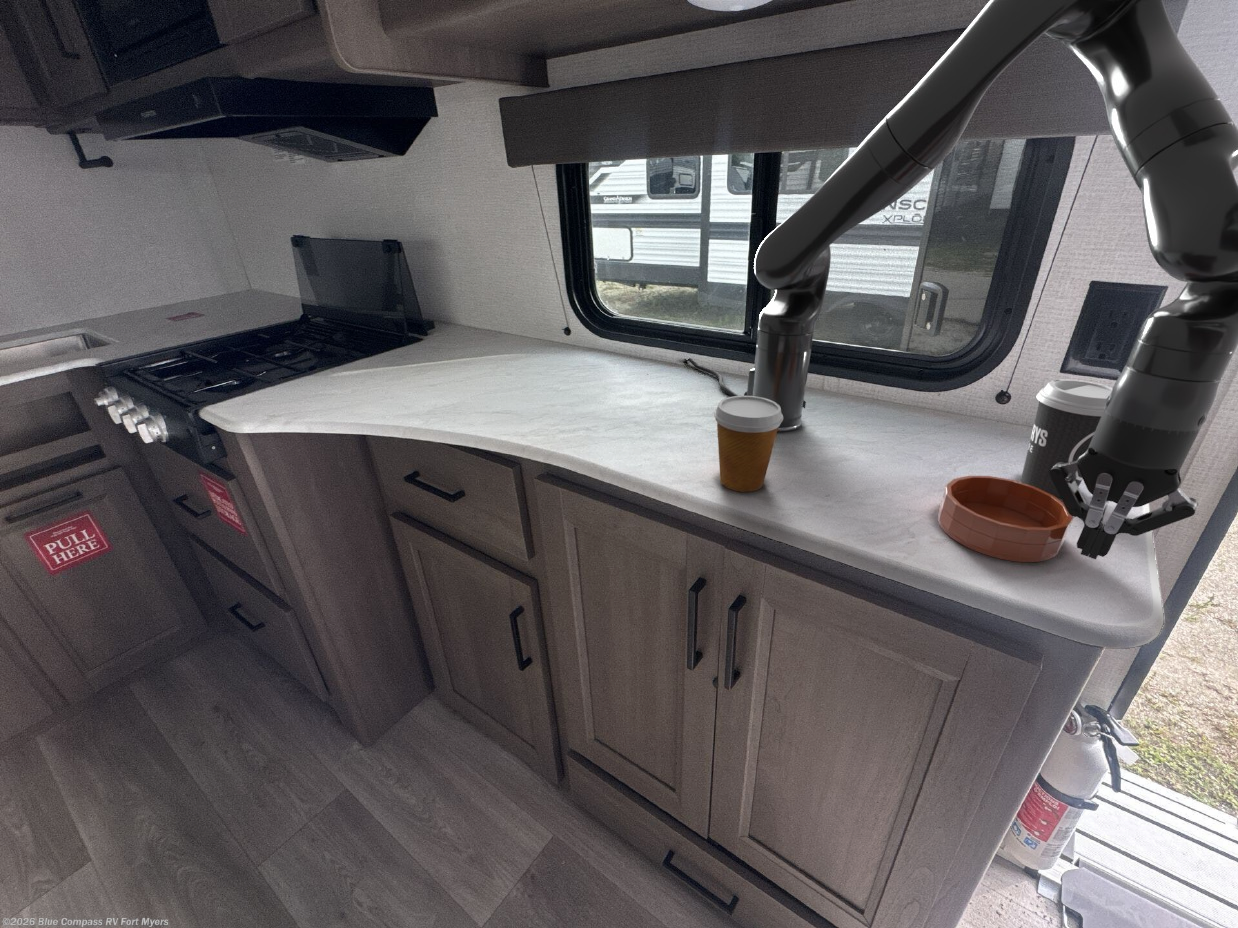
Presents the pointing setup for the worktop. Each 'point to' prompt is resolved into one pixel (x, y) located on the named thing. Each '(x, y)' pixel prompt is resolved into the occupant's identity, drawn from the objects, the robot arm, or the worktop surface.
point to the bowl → (1004, 518)
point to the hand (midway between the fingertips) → (1089, 553)
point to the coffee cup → (1062, 428)
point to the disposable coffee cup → (746, 440)
